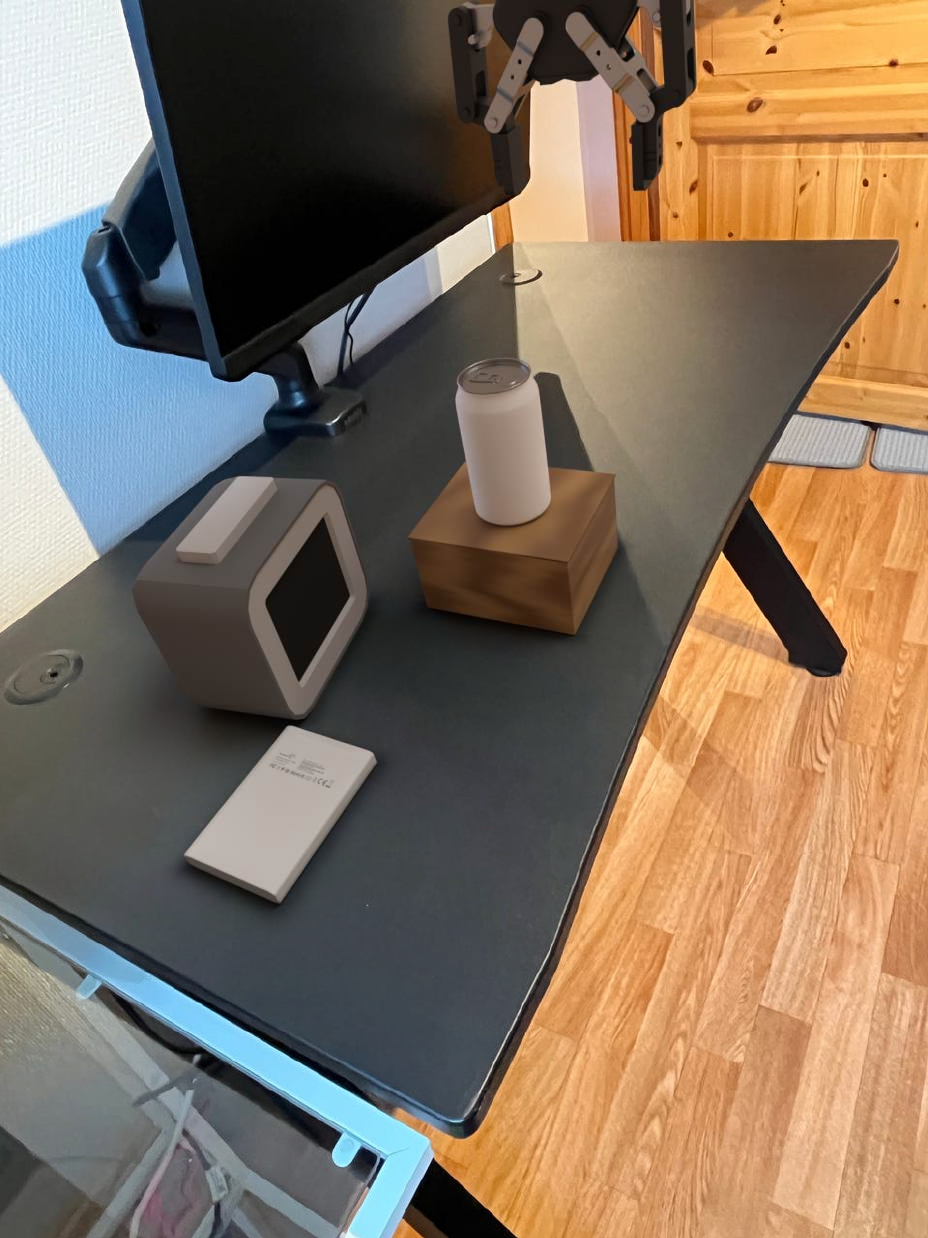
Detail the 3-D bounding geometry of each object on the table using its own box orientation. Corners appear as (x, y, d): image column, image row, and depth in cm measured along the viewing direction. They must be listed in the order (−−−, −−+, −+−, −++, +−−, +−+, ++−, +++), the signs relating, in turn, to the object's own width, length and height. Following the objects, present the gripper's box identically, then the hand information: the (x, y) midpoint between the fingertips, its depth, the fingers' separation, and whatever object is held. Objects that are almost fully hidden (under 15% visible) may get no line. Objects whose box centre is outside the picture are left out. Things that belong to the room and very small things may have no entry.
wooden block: (619, 547, 77) (615, 473, 72) (575, 636, 70) (568, 561, 64) (480, 528, 83) (467, 458, 78) (425, 608, 76) (407, 537, 70)
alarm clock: (298, 735, 67) (230, 586, 56) (180, 717, 70) (95, 574, 60) (374, 599, 78) (329, 453, 67) (269, 590, 81) (210, 451, 71)
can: (530, 535, 68) (511, 400, 60) (461, 520, 71) (435, 390, 63) (564, 490, 71) (551, 358, 64) (498, 479, 75) (477, 351, 67)
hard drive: (190, 866, 59) (292, 736, 67) (281, 906, 56) (378, 764, 63) (181, 853, 58) (286, 722, 66) (273, 894, 55) (373, 750, 62)
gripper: (400, -116, 44) (453, 213, 54) (675, -176, 38) (674, 206, 48) (460, -131, 48) (499, 175, 59) (713, -186, 42) (704, 165, 53)
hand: (578, 189), depth 54 cm, fingers open, 8 cm apart
